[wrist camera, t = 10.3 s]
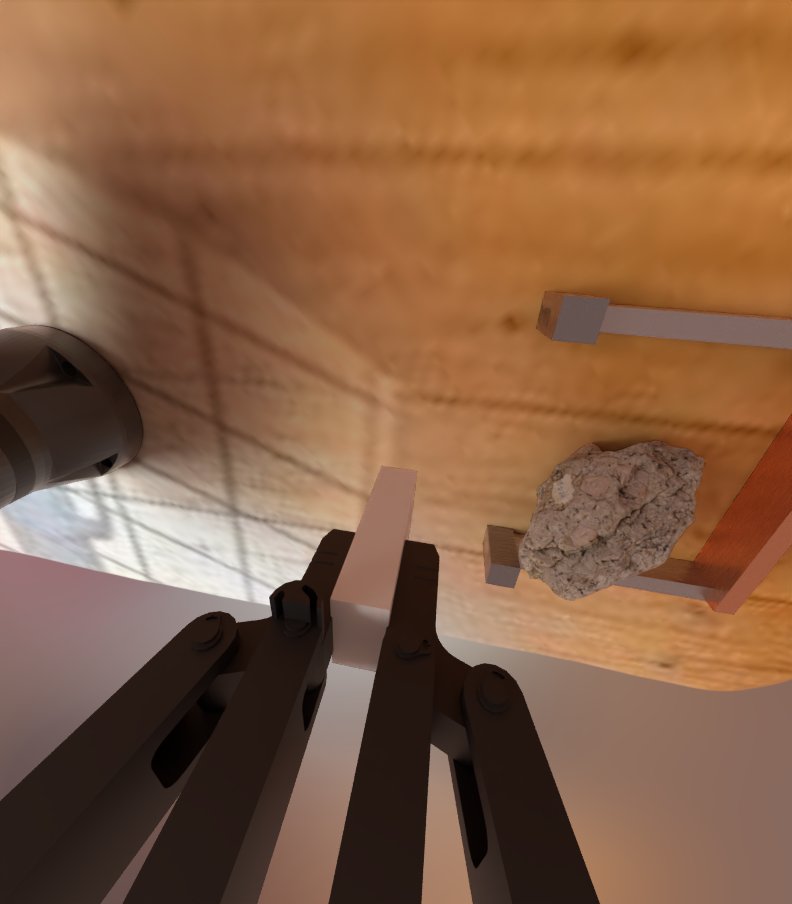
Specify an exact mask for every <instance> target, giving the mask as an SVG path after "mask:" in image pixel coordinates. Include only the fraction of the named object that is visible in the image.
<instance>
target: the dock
mask: <svg viewBox="0 0 792 904" xmlns="http://www.w3.org/2000/svg"><path fill="white" fill-rule="evenodd" d="M609 302H610V299H608V298H602V297H596V296H590V295H584V294H573V293H559V292H546V291H545V294H544V298H543V302H542V306H541V310H540V314H539V318H538V322H537V326H536V329H537V330H539V331H540V332H541V333H543V334H544V335H545V336H547V337H548V338H550V339H551V340H554V341H565V342H576V343H586V344H596V341H597V338H598V335H599V332H603V333H614V334H625V335H637V336H648V337H659V338H670V339H682V340H693V341H704V342H716V343H727V344H738V345H750V346H761V347H772V348H784V349H792V318H784V317H771V316H758V315H746V314H733V313H720V312H707V311H695V310H682V309H669V308H656V307H644V306H631V305H618V304H609ZM524 536H525V535H524V534H517V533H513V529H510V528H504V527H497V526H491V525H487V529H486V533H485V537H484V541H483V553H484V566H485V579H486V583H487V584H493V585H498V586H504V587H509V588H514V587H515V584H516V581H517V578H518V575H519V572H520V569H525V567H524V565H523V563H522V561H521V558H520V556H519V546H520V542H521V540H522V539H523V537H524ZM791 545H792V414H791V416H790V417H789V419H788V420H787V422H786V423H785V425H784V426H783V428H782V429H781V431H780V432H779V434H778V436H777V437H776V439H775V440H774V442H773V443H772V445H771V446H770V448H769V449H768V451H767V452H766V454H765V455H764V457H763V458H762V460H761V461H760V463H759V464H758V466H757V467H756V469H755V470H754V472H753V473H752V475H751V476H750V478H749V479H748V481H747V482H746V484H745V485H744V487H743V488H742V490H741V491H740V493H739V494H738V496H737V497H736V499H735V500H734V502H733V503H732V505H731V506H730V508H729V509H728V511H727V512H726V514H725V515H724V517H723V518H722V520H721V521H720V523H719V524H718V526H717V527H716V529H715V530H714V532H713V533H712V535H711V536H710V538H709V539H708V541H707V542H706V544H705V545H704V547H703V548H702V550H701V551H700V553H699V554H698V556H697V557H696V559H695V560H694V562H690V561H684V560H678V559H672V558H668V559H667V560H666V561H665V563H663V564H661V565H660V566H658V567H656V568H653V569H650V570H648V571H645V572H642V573H640V574H637V575H634V576H631V577H628V578H626V579H623V580H619V581H616V582H615V583H614V584H613V585H618V586H623V587H629V588H635V589H640V590H646V591H652V592H658V593H663V594H669V595H675V596H681V597H686V598H692V599H698V600H704V601H706V602H707V603H708V604H709V606H710V607H711V608H712V610H713V611H716V612H721V613H727V614H733V615H734V614H735V612H736V611H737V610H738V609H739V608H740V606H741V605H742V604H743V603H744V602H745V600H746V599H747V598H748V597H749V596H750V594H751V593H752V592H753V591H754V589H755V588H756V587H757V586H758V585H759V583H760V582H761V581H762V580H763V579H764V577H765V576H766V575H767V574H768V573H769V571H770V570H771V569H772V568H773V566H774V565H775V564H776V563H777V562H778V560H779V559H780V558H781V557H782V556H783V554H784V553H785V552H786V551H787V550H788V548H789V547H790V546H791Z"/></svg>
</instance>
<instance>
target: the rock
mask: <svg viewBox="0 0 792 904" xmlns="http://www.w3.org/2000/svg"><path fill="white" fill-rule="evenodd" d="M705 464H706V463H705V461H704V459H703V458H702V457H701V456H698V455H696V454H695V453H694V452H693V451H692V450H690V449H686V448H678V447H675V446H669V445H667V444H666V443H664V442H661V441H658V440H653V441H650V442H645V443H638V444H635V445H632V446H629V447H627V448H625V449H622V450H618V451H615V452H614V451H605V452H602V451H601V450H600V448H599V447H598V446H597V445H595V444H592V443H589V444H588V445H586V446H584V447H582V448H580V449H579V450H578V451H577V452H575V453H574V454H573V455H571V456H570V457H569V458H568V459H566V460H565V461H564V462H562V463H561V464H559V465H557V466H556V468H555V470H554V471H553V472H552V474H551V475H550V477H549V478H548V480H547V481H545V482H544V483H543V484H542V485H541V486H540V487H539V488H538V489H537V491H538V492H537V497H538V503H537V506H536V508H535V510H534V513H533V515H532V519H531V523H530V526H529V529H528V531H527V533H526V534H525V536H524V537H523V539H522V540H521V542H520V546H519V556H520V558H521V561H522V563H523V565H524V567H525V569H526V571H527V572H528V574H529V577H530V579H537V578H539V579H541V580H542V581H543V582H546V584H547V585H548V586H549V587H550V588H551V589H552V591H553V592H554V593H555V594H557V595H558V596H560V597H562V598H564V599H566V600H567V599H568V600H575V599H577V598H582V597H585V596H587V595H590V594H592V593H594V592H597V591H599V590H601V589H604V588H607V587H609V586H611V585H613V584H614V583H615V582H616V581H619V580H623V579H626V578H628V577H631V576H634V575H637V574H640V573H642V572H645V571H648V570H650V569H653V568H656V567H658V566H660V565H661V564H663V563H665V561H666V560H667V559H668V557H669V555H670V553H671V552H672V550H673V548H674V546H675V544H676V542H677V540H678V539H679V537H680V536H681V535H682V534H683V533H684V531H685V530H686V529H687V527H688V526H689V525H690V524H691V523H693V522H694V521H695V516H694V511H695V508H696V499H695V491H696V489H697V487H698V486H699V485H700V481H701V477H702V475H703V473H702V472H701V470H702V469H703V467H704V466H705Z"/></svg>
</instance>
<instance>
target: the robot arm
mask: <svg viewBox="0 0 792 904" xmlns="http://www.w3.org/2000/svg"><path fill="white" fill-rule="evenodd" d="M141 442H142V425H141V420H140V416H139V412H138V410H137V407H136V405H135V402H134V400H133V398H132V396H131V394H130V392H129V391H128V389H127V387H126V386H125V384H124V383H123V381H122V380H121V379H120V377H119V376H118V375H117V373H116V372H115V371H114V370H113V369H112V368H111V366H110V365H109V364H108V363H107V362H106V361H105V360H104V359H103V358H102V357H101V356H99V355H98V354H97V353H96V352H95V351H94V350H92V349H91V348H90V347H88V346H87V345H86V344H84V343H83V342H81V341H80V340H78V339H76V338H75V337H73V336H71V335H69V334H67V333H65V332H62V331H60V330H57V329H54V328H50V327H46V326H37V325H33V326H23V327H15V328H7V329H1V330H0V509H1V508H2V507H4V506H6V505H8V504H10V503H12V502H14V501H16V500H18V499H20V498H22V497H24V496H26V495H28V494H30V493H32V492H34V491H38V490H42V489H46V488H51V487H55V486H60V485H64V484H69V483H73V482H78V481H82V480H87V479H91V478H95V477H100V476H103V475H106V474H109V473H111V472H113V471H114V470H116V469H118V468H120V467H122V466H123V465H125V464H127V463H129V462H130V461H131V460H132V459H133V458H134V457H135V456H136V455H137V453H138V451H139V449H140V446H141ZM416 478H417V471H414V470H407V469H400V468H393V467H386V466H381V469H380V472H379V474H378V477H377V479H376V482H375V484H374V487H373V490H372V492H371V495H370V497H369V500H368V503H367V505H366V508H365V510H364V513H363V515H362V518H361V521H360V523H359V526H358V528H357V531H356V533H355V532H349V531H343V530H337V529H333V530H332V531H330V532H329V533H328V534H327V535H326V536H325V537H323V538H322V540H321V542H320V544H319V546H318V548H317V551H316V552H315V554H314V556H313V558H312V561H311V562H310V564H309V566H308V568H307V570H306V572H305V574H304V576H303V578H302V580H295V581H292V582H288V583H285V584H283V585H282V586H280V587H279V588H277V589H276V590H275V591H274V592H273V593H272V595H271V596H270V597H269V599H270V605H271V611H272V616H271V617H269V618H266V619H262V620H256V621H247V622H238V623H236V621H235V618H233V617H232V616H231V615H230V614H229V613H224V612H221V611H218V612H210V613H207V614H204V615H202V616H200V617H197V618H196V619H195V620H193V621H192V622H191V623H189V624H188V625H187V626H186V627H185V628H183V629H182V630H181V632H179V633H178V634H177V635H176V636H175V637H174V638H173V639H172V640H171V641H170V642H169V643H168V644H167V645H166V646H164V647H163V648H162V649H161V650H160V651H159V652H158V653H157V654H156V655H155V656H154V657H153V658H152V659H151V660H149V662H147V663H146V664H145V665H144V666H143V667H142V668H141V669H140V670H139V671H138V672H137V673H136V674H135V675H134V676H133V677H131V678H130V679H129V680H128V681H127V682H126V683H125V684H124V685H123V686H122V687H121V688H120V689H119V690H118V691H117V692H116V693H115V694H113V695H112V696H111V697H110V698H109V699H108V700H107V701H106V702H105V703H104V704H103V705H102V706H101V707H100V708H99V709H98V710H96V711H95V712H94V713H93V714H92V715H91V716H90V717H89V718H88V719H87V720H86V721H85V722H84V723H83V724H82V725H80V726H79V727H78V728H77V729H76V730H75V731H74V732H73V733H72V734H71V735H70V736H69V737H68V738H67V739H66V740H65V741H64V742H63V743H61V744H60V745H59V746H58V747H57V748H56V749H55V750H54V751H53V752H52V753H51V754H50V755H49V756H48V757H46V759H44V760H43V761H42V762H41V763H40V764H39V765H38V766H37V767H36V768H35V769H34V770H33V771H32V772H31V773H29V774H28V775H27V776H26V777H25V778H24V779H23V780H22V781H21V782H20V783H19V784H18V785H17V786H16V787H15V788H14V789H12V790H11V791H10V792H9V793H8V794H7V795H6V796H5V797H4V798H3V799H2V800H1V801H0V904H100V903H101V902H102V901H103V899H104V898H105V897H106V895H107V894H108V892H109V891H110V890H111V888H112V887H113V886H114V884H115V883H116V881H117V880H118V879H119V877H120V876H121V874H122V873H123V871H124V870H125V869H126V868H127V866H128V865H129V864H130V862H131V860H132V859H133V858H134V857H135V855H136V854H137V853H138V851H139V850H140V848H141V847H142V846H143V844H144V843H145V841H146V840H147V839H148V837H149V836H150V835H151V833H152V832H153V830H154V829H155V828H156V826H157V825H158V824H159V822H160V821H161V819H162V818H163V817H164V815H165V814H166V813H167V811H168V810H169V808H170V807H171V806H172V804H173V803H174V801H175V800H176V799H177V797H178V796H179V795H180V796H179V798H178V800H177V802H176V803H175V805H174V807H173V809H172V811H171V813H170V815H169V817H168V819H167V820H166V822H165V824H164V826H163V828H162V830H161V832H160V834H159V836H158V838H157V839H156V841H155V843H154V845H153V847H152V849H151V851H150V853H149V855H148V857H147V858H146V860H145V862H144V864H143V866H142V868H141V870H140V872H139V874H138V876H137V877H136V879H135V881H134V883H133V885H132V887H131V889H130V891H129V893H128V894H127V896H126V898H125V900H124V902H123V904H257V903H258V899H259V896H260V893H261V890H262V887H263V883H264V880H265V877H266V874H267V870H268V867H269V864H270V861H271V858H272V855H273V851H274V848H275V845H276V842H277V839H278V836H279V832H280V829H281V826H282V823H283V820H284V817H285V813H286V810H287V807H288V804H289V801H290V797H291V794H292V791H293V788H294V785H295V782H296V778H297V775H298V772H299V769H300V766H301V762H302V759H303V756H304V753H305V750H306V747H307V743H308V740H309V737H310V734H311V731H312V727H313V724H314V721H315V718H316V715H317V712H318V708H319V705H320V702H321V699H322V696H323V692H324V689H325V686H326V678H327V668H328V665H329V661H330V659H331V656H332V663H336V664H340V665H345V666H350V667H355V668H359V669H364V670H369V671H374V672H376V674H375V679H374V684H373V689H372V694H371V699H370V704H369V709H368V713H367V718H366V723H365V728H364V733H363V738H362V743H361V748H360V753H359V757H358V763H357V767H356V773H355V777H354V782H353V787H352V792H351V797H350V802H349V807H348V812H347V816H346V821H345V826H344V831H343V836H342V841H341V846H340V851H339V855H338V860H337V865H336V870H335V875H334V880H333V885H332V890H331V895H330V899H329V904H421V900H422V883H423V865H424V847H425V831H426V830H425V829H426V813H427V796H428V777H429V761H430V744H433V745H434V746H436V747H437V748H439V749H440V750H441V751H443V752H444V753H446V754H447V755H448V759H449V765H450V771H451V777H452V783H453V789H454V795H455V800H456V806H457V812H458V819H459V824H460V829H461V836H462V842H463V848H464V854H465V860H466V866H467V872H468V878H469V884H470V889H471V895H472V901H473V904H600V903H599V900H598V897H597V895H596V892H595V889H594V886H593V884H592V881H591V879H590V876H589V873H588V870H587V868H586V865H585V862H584V859H583V856H582V854H581V851H580V848H579V846H578V843H577V840H576V838H575V835H574V832H573V829H572V827H571V824H570V821H569V818H568V816H567V813H566V811H565V808H564V805H563V802H562V799H561V797H560V794H559V791H558V788H557V786H556V783H555V780H554V778H553V775H552V772H551V769H550V767H549V764H548V761H547V759H546V756H545V753H544V750H543V748H542V745H541V743H540V740H539V737H538V734H537V732H536V729H535V726H534V723H533V721H532V718H531V715H530V712H529V710H528V707H527V704H526V701H525V699H524V696H523V693H522V691H521V689H520V688H519V686H518V684H517V682H516V680H514V678H512V676H511V675H510V674H509V673H508V672H507V671H505V670H504V669H502V668H500V667H498V666H496V665H492V664H486V663H484V664H480V665H476V666H474V667H471V666H469V665H468V664H465V663H464V662H462V661H460V660H459V659H457V658H455V657H454V656H452V655H451V654H450V653H448V651H447V650H446V649H445V648H444V647H443V646H442V644H441V643H440V641H439V639H438V636H437V633H436V625H435V624H436V607H437V590H438V572H439V555H438V552H437V550H436V548H435V546H434V545H433V544H427V543H421V542H415V541H409V540H408V538H409V532H410V527H411V520H412V512H413V503H414V495H415V487H416ZM180 793H181V794H180Z"/></svg>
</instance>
